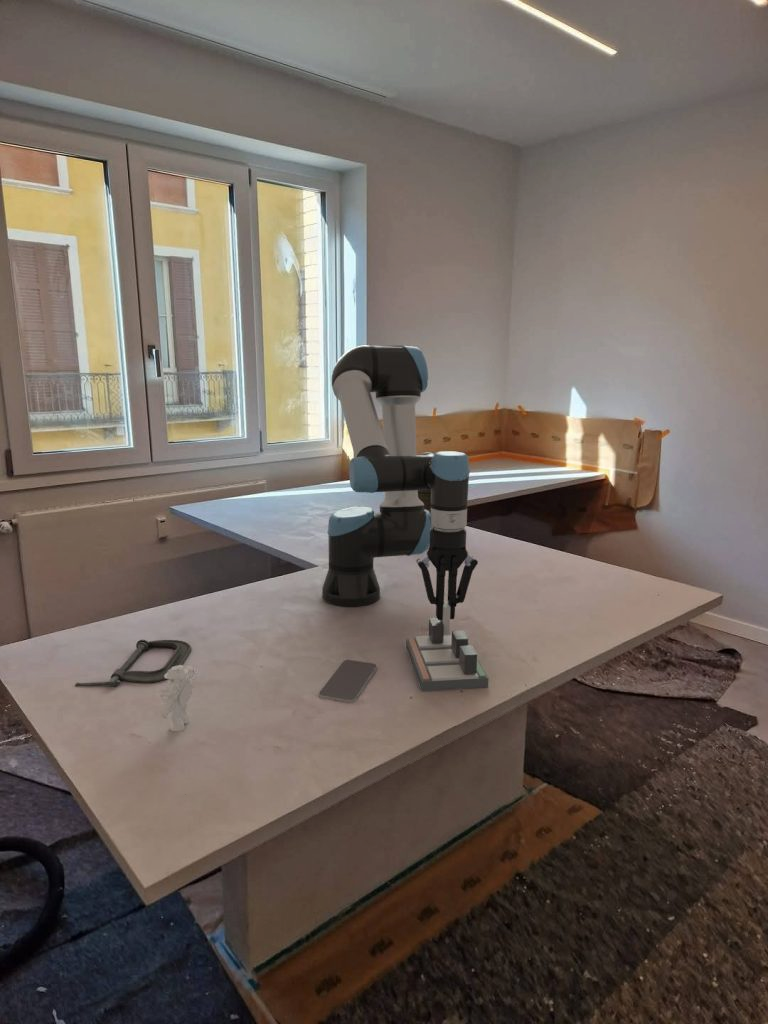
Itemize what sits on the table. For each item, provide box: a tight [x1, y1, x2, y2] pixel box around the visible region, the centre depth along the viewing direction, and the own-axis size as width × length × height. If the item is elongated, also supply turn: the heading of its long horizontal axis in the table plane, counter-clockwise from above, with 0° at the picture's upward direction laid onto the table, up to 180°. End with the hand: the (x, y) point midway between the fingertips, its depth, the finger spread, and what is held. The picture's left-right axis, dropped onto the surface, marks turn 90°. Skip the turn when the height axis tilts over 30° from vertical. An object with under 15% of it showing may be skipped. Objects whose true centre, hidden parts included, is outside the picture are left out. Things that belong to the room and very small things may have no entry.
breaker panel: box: [405, 634, 489, 692], centre depth 134 cm, size 13×19×2 cm
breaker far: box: [428, 617, 444, 643], centre depth 140 cm, size 2×4×4 cm, turn 7°
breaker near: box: [459, 644, 478, 674], centre depth 127 cm, size 2×4×4 cm, turn 7°
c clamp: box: [74, 639, 192, 688], centre depth 134 cm, size 20×17×3 cm
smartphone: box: [318, 659, 378, 703], centre depth 128 cm, size 7×1×15 cm
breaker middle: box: [451, 630, 469, 658], centre depth 134 cm, size 2×4×4 cm, turn 7°
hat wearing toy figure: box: [158, 664, 197, 732], centre depth 111 cm, size 9×4×12 cm, turn 168°
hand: (444, 632), depth 140 cm, fingers closed
